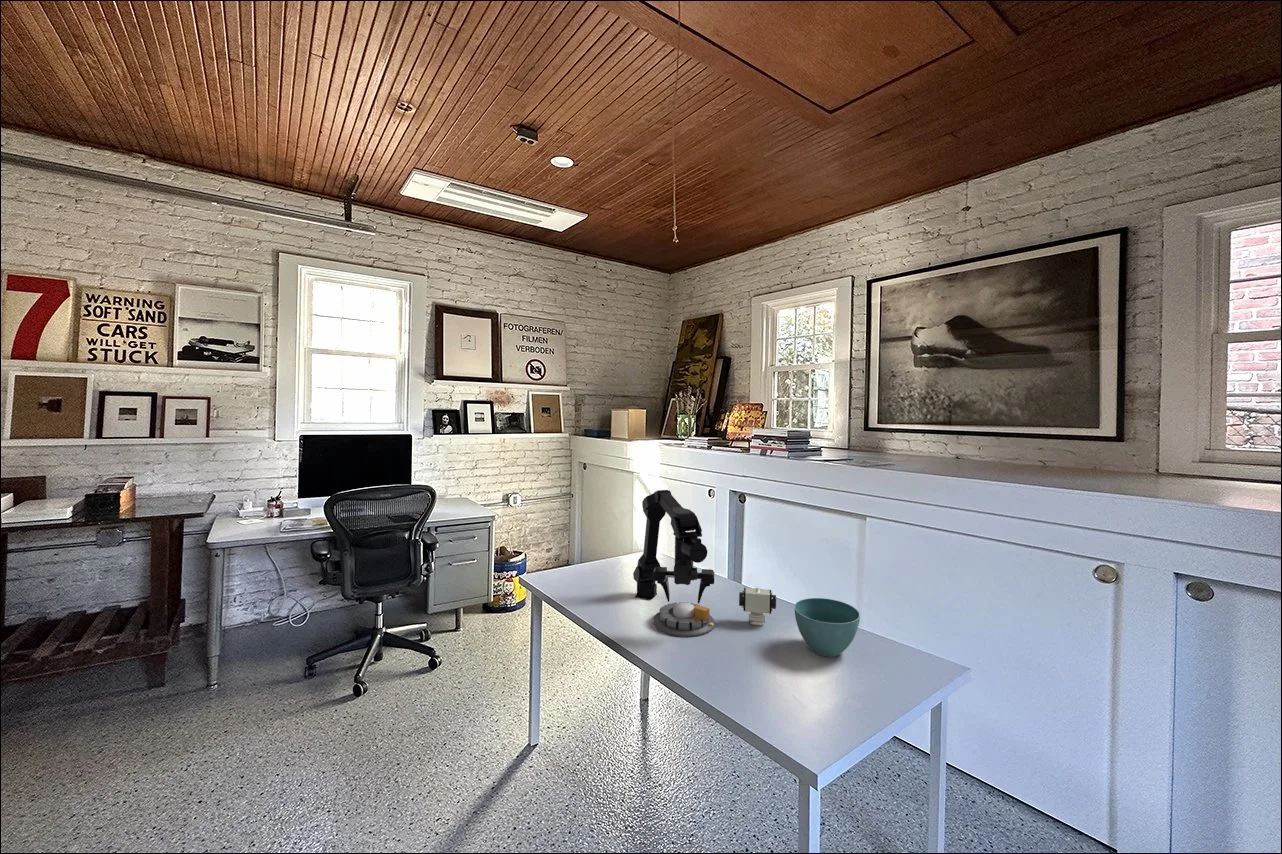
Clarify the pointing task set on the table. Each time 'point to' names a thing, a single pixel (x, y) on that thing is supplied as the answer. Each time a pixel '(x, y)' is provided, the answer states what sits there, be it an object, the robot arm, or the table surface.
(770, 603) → the pneumatic valve
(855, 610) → the teal hollow rounded piece
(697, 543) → the robot arm
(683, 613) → the cap base
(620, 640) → the table surface
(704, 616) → the grey toothed bowl
